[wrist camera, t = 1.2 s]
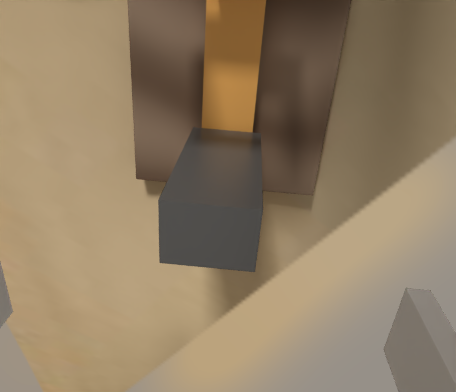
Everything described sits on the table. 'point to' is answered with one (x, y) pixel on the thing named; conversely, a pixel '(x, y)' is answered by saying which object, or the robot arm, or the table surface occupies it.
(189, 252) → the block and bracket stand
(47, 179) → the table surface
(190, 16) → the board
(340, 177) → the table surface
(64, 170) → the table surface
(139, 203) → the table surface
